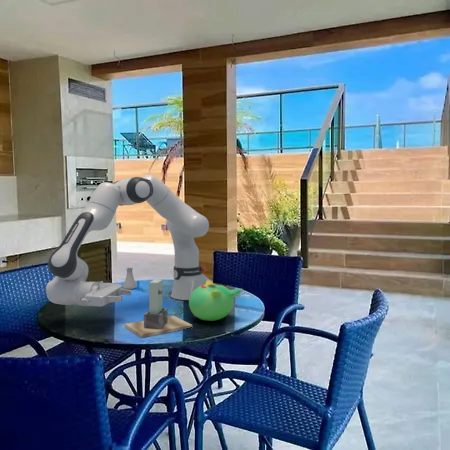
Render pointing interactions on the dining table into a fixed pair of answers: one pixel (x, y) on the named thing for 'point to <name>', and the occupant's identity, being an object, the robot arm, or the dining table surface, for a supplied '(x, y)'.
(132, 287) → the flask
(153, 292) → the tall grey rectangular block
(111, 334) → the dining table surface
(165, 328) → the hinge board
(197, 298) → the toy bird
